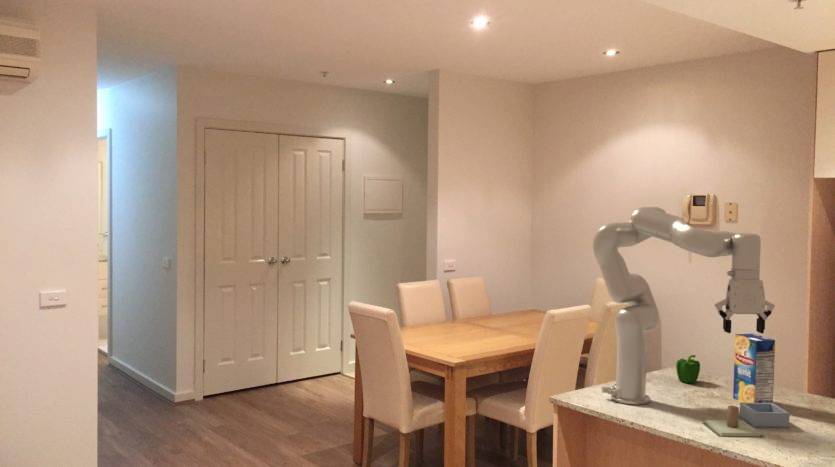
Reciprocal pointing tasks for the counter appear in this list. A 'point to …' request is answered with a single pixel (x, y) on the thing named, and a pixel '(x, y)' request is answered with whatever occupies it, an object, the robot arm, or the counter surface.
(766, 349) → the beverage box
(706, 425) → the mat
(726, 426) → the lid
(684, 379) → the bell pepper
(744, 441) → the counter surface
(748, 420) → the dish
